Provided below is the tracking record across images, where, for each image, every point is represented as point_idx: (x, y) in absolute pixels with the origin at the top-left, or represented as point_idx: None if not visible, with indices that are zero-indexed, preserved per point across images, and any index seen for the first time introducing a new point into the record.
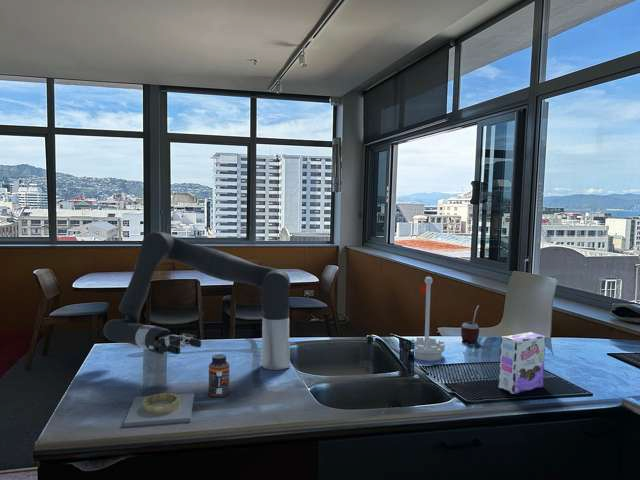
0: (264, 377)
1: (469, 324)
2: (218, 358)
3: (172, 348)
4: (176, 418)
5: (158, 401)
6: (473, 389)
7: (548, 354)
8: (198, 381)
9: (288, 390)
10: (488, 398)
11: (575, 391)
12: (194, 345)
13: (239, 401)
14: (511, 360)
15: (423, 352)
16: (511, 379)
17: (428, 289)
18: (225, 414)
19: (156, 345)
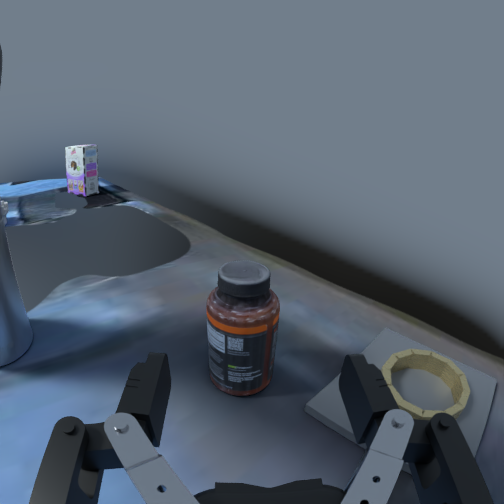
0: (82, 340)
1: None
2: (263, 266)
3: (384, 381)
4: (408, 340)
5: None
6: (91, 201)
7: (6, 194)
8: (188, 484)
9: (146, 288)
10: (111, 197)
11: None
12: (163, 413)
13: None
14: (95, 163)
15: (5, 213)
16: (96, 180)
17: None
18: (314, 314)
19: (469, 452)
